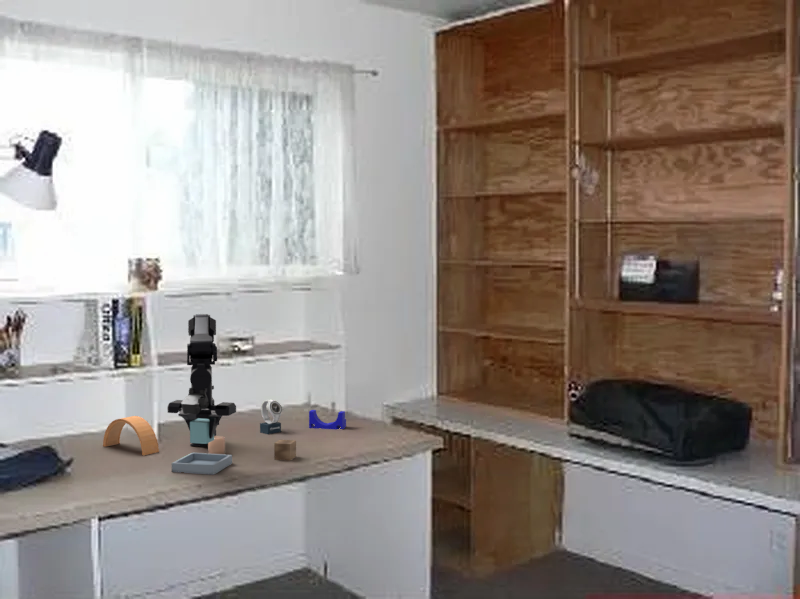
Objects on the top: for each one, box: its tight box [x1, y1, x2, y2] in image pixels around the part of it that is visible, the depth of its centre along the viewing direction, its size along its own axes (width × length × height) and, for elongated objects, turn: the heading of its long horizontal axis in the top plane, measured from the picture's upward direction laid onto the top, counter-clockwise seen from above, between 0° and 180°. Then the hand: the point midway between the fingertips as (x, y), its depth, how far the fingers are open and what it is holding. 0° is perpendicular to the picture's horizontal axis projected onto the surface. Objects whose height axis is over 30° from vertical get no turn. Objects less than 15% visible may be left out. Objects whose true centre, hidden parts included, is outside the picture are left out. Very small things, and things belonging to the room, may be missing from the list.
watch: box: [259, 399, 283, 435], centre depth 294 cm, size 6×8×11 cm
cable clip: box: [308, 409, 347, 430], centre depth 302 cm, size 12×4×6 cm, turn 77°
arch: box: [102, 415, 160, 456], centre depth 270 cm, size 6×20×10 cm, turn 54°
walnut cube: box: [273, 439, 297, 462], centre depth 259 cm, size 5×5×5 cm
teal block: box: [189, 418, 214, 444], centre depth 248 cm, size 5×5×6 cm
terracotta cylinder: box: [207, 435, 226, 455], centre depth 264 cm, size 5×5×5 cm
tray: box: [171, 452, 233, 476], centre depth 248 cm, size 13×13×2 cm
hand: (202, 437), depth 248 cm, fingers closed on teal block, 5 cm apart
